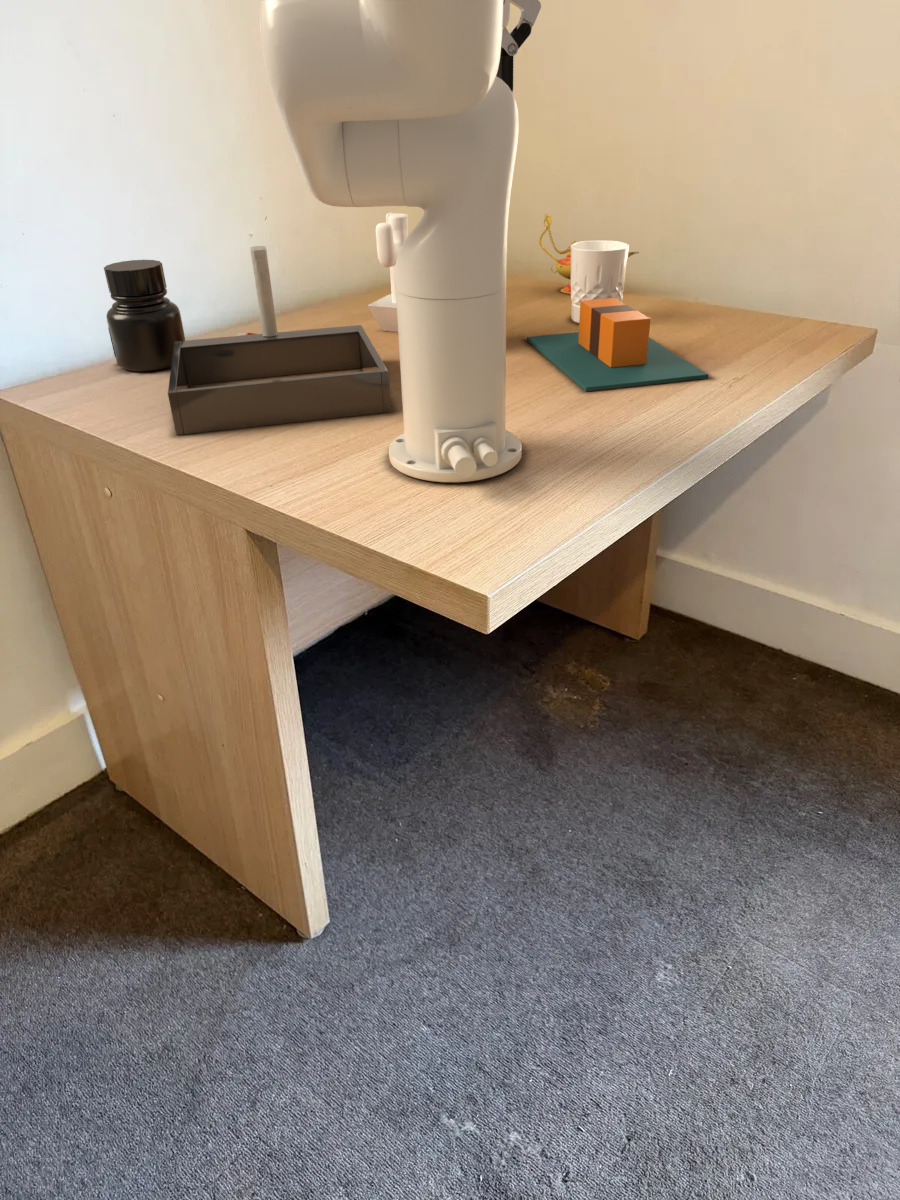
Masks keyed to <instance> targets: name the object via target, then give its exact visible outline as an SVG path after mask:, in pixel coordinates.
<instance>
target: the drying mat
mask: <svg viewBox="0 0 900 1200" xmlns="http://www.w3.org/2000/svg"><path fill="white" fill-rule="evenodd" d="M578 338H579V331H574V332H565V333H555V334H553V333H552V334H544V335H543V334H542V335H532V336H526V341H527V343H529V345H531V346H532V347H534V348H535V349H536V350H537V351H538V352H539V353H540V354H541V355H543V357H545V358H546V359H547V360H548V361H550V362H551V363H552V364H553V365H554V366H555V367H557V368H558V369H559V370H560V371H561V372H563V373H564V374H565V375H566V376H567V377H568V378H569V379H571V380H572V381H573V382H574V383H575V384H576V385H578V386H579V387H580V388H581V389H582V390H583V391H584V392H596V391H605V390H614V389H623V388H631V387H641V386H649V385H659V384H669V383H677V382H687V381H695V380H706V379H709V373H707V372H706V371H704V370H702V369H701V368H699V367H697V366H695V364H692V363H691V362H689V361H688V360H686V359H684V358H683V357H681V356H680V355H678V354H676V353H675V352H673V351H672V350H670V349H668V348H666V347H665V346H663V345H661V343H658V342H657V341H655V340H653V339H652V338H650V337H649V341H648V351H647V362H646V364H642V365H632V366H623V367H613V368H611V367H609V366H608V365H607V364H605V363H604V362H603V361H601V360H600V359H598V358H597V357H595V356H594V355H593V354H591V353H590V352H589V351H588V350H586V349H585V348H584V347H582V346H581V345H580V344H578Z"/></svg>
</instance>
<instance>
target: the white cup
mask: <svg viewBox="0 0 900 1200" xmlns="http://www.w3.org/2000/svg"><path fill="white" fill-rule="evenodd" d="M570 245H571V244H570ZM570 248H571V280H570V281H571V294H570V299H571V309H570V310H571V312H570V313H571V318H570V319H571V320H572V321H573V322H574V323H577V324H579V318H580V301H582V300H594V299H605V298H615V299H617V300H619V301H621V302H622V301H623V297H624V289H625V284H626V275H627V266H628V259H629V257H628V253H629V249H630V245H629V244H628V243H626V242H623V241H617V240H605V239H601V240H600V239H599V240H597V239H595V240H594V239H592V240H582V241H576V243H574V244H572V245H571V247H570Z"/></svg>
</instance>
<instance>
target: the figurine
mask: <svg viewBox="0 0 900 1200" xmlns="http://www.w3.org/2000/svg"><path fill="white" fill-rule="evenodd" d="M409 218H410V216H409V214H407V213H401V212H393V211H392V212H387V213H386V214H385V222H379V223H377V224H376V226H375V241H376V242H375V243H376V254H377V260H378V262H379V264H380V266H382V267H384V268H389V276H390V291H391V293H389V294H387V295H385V296H383V297H381V298H379V299H377V300H375V301H373V302H370V303H369V304H367V305H366V306H367V309H368V310H369V311H370V313H371V315H372V316H373V317H374V319H375V321H376V322H377V324H378V326H379V327H380V328H381V331H383V332H384V331H386V332H397V333H398V321H397V304H396V289H395V265H396V260H397V257H398V253H399V251H400V249H401V247H402V245H403V243H404V242H405V240H406V239H407V237H408V236H409V220H410V219H409Z"/></svg>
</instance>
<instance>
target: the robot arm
mask: <svg viewBox="0 0 900 1200" xmlns="http://www.w3.org/2000/svg"><path fill="white" fill-rule="evenodd" d="M511 4H512V5H513V6H514V7H517V8H518V9H519V10H520V17H519V20H518V23H517V25H516V26H514V28H513V29H512V30H511V32H510V31H509V30H508V29H507V26H508V25H509V22H510V16H511V15H510V12H511ZM541 8H542V4H541V1H540V0H260V6H259V33H260V34H259V35H260V44H261V45H260V46H261V53H262V59H263V63H264V68H265V73H266V76H267V81H268V83H269V88H270V91H271V94H272V98H273V101H274V104H275V106H276V109H277V111H278V114H279V117H280V120H281V122H282V126H283V128H284V130H285V133H286V136H287V139H288V141H289V144H290V147H291V149H292V152H293V155H294V157H295V160H296V163H297V165H298V168H299V171H300V173H301V176H302V179H303V181H304V182H305V185H306V187H307V188H308V190H309V192H310V193H311V195H312V196H313V197H314V198H315V199H317V200H318V201H319V202H321V203H322V204H324V205H326V206H330V207H339V208H375V207H376V208H379V207H407V208H409V207H411V208H420V209H422V210H423V216H422V218H420V220H419V221H418V223H417V224H416V226H415V227H414V228H413V229H412V230H411V232H410V233H409V234H408V237H407V239H406V240H405V242H404V243H403V245H402V247H401V249H400V251H399V253H398V257H397V260H396V265H395V289H396V304H397V321H398V332H397V335H398V350H399V351H398V352H399V353H398V355H399V367H400V368H399V369H400V370H399V371H400V387H401V402H402V403H401V404H402V419H403V432H402V433H401V434H400V435H398V436H396V437H395V438H394V439H393V440H392V441H391V443H390V444H389V446H388V459H389V462H390V464H391V466H392V467H393V468H394V469H396V470H397V471H398V472H400V473H401V474H404V475H406V476H409V477H412V478H415V479H418V480H423V481H429V482H437V483H466V482H475V481H481V480H486V479H489V478H494V477H496V476H499V475H502V474H504V473H506V472H508V471H510V470H512V469H513V468H514V467H515V466H517V465H518V464H519V462H520V461H521V459H522V455H523V446H522V442H521V439H520V438H519V437H517V436H516V434H514V433H513V432H510V431H509V430H507V429H506V411H507V410H506V409H507V408H506V407H507V406H506V404H507V403H506V399H507V398H506V397H507V396H506V395H507V394H506V393H507V386H506V385H507V384H506V383H507V265H508V264H507V258H508V257H507V256H508V234H509V233H508V231H509V216H510V207H511V206H510V204H511V196H512V188H513V181H514V174H515V166H516V160H517V159H516V158H517V152H518V143H519V133H520V131H519V130H520V124H519V123H520V120H519V118H520V117H519V109H518V103H517V101H516V100H517V99H516V97H515V95H514V93H513V91H514V57H515V56H516V55H517V54H518V52H519V49H520V48H521V47H522V45H523V44H524V43H525V42H526V40H527V39H528V38H529V37H530V36H531V34H532V28H533V26H534V25H535V23H536V20H537V19H538V18H537V17H538V15H539V14H540V11H541Z"/></svg>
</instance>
